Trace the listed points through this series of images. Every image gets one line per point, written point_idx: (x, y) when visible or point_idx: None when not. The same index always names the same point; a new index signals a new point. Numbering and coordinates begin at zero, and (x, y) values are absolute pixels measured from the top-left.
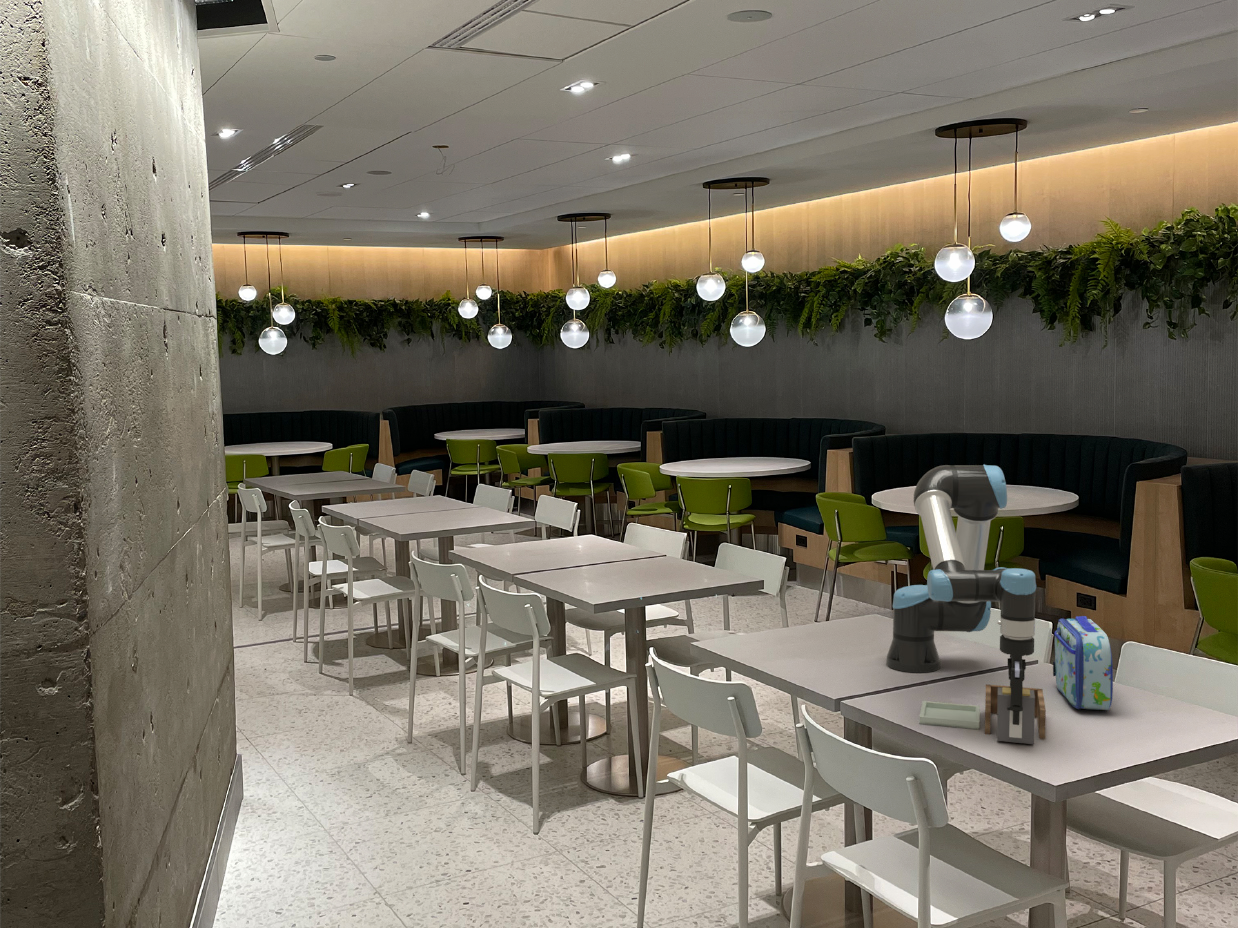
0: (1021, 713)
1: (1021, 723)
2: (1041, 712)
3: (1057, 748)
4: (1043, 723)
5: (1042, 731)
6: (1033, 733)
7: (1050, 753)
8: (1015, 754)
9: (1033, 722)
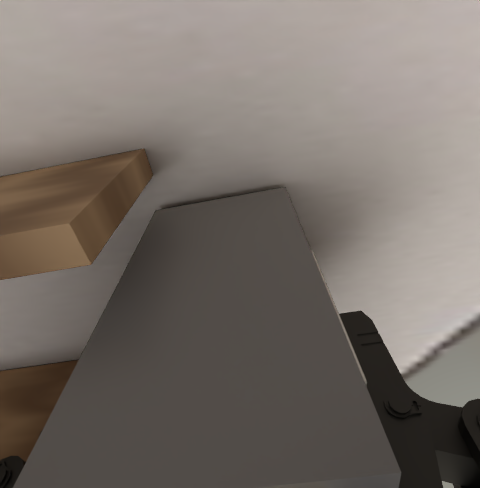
0: (358, 363)
1: (334, 305)
2: (96, 241)
3: (264, 55)
4: (120, 188)
5: (138, 175)
6: (293, 213)
7: (366, 84)
8: (420, 234)
9: (311, 252)
